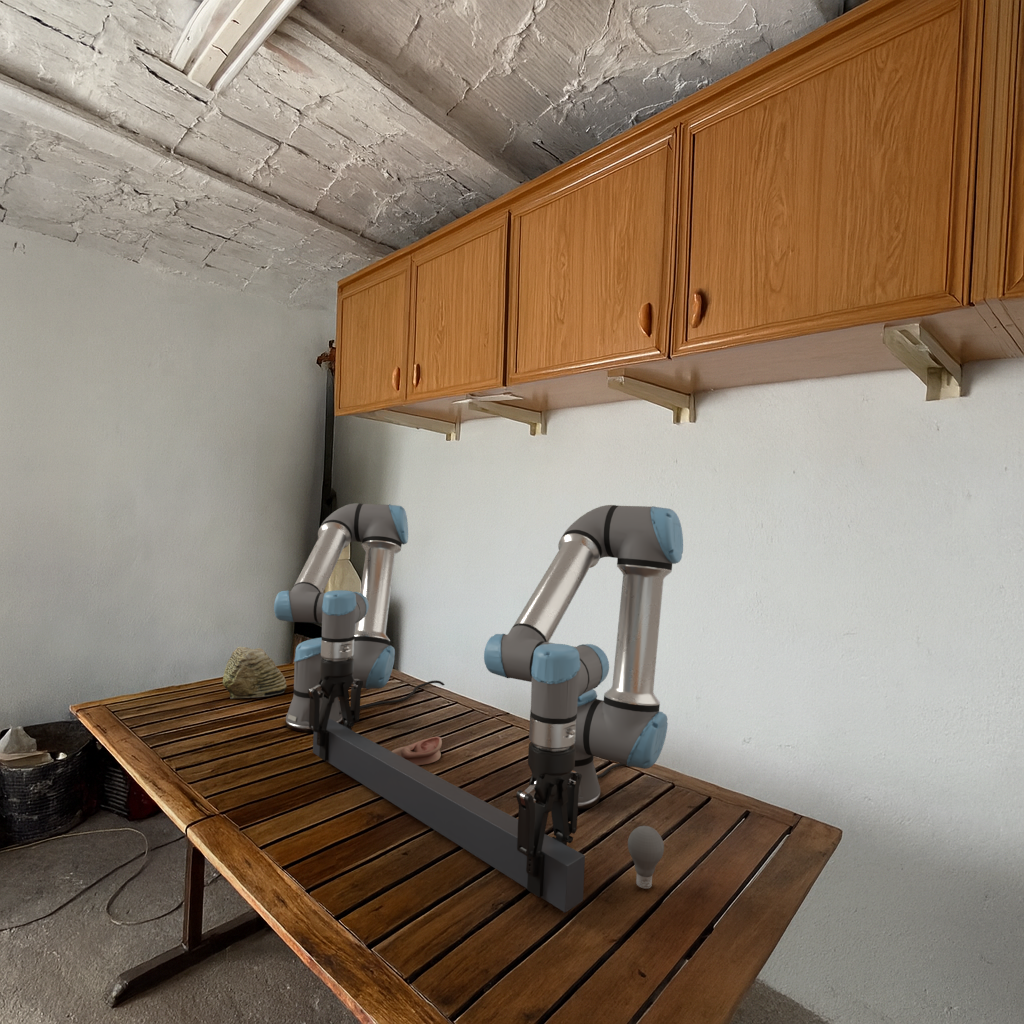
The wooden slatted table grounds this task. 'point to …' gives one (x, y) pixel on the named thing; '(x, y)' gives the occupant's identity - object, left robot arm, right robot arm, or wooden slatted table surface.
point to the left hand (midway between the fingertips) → (333, 755)
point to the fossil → (252, 674)
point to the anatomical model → (421, 751)
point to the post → (455, 814)
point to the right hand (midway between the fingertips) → (545, 885)
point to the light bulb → (645, 853)
